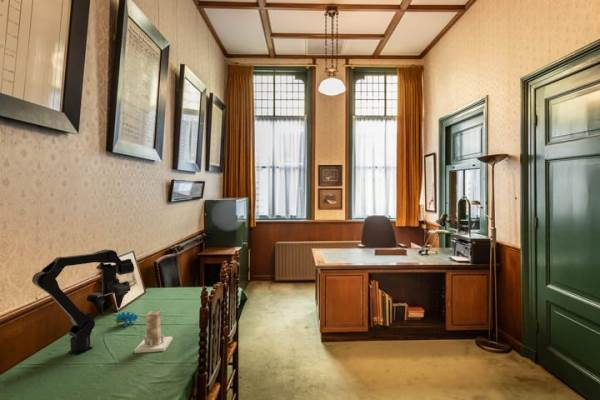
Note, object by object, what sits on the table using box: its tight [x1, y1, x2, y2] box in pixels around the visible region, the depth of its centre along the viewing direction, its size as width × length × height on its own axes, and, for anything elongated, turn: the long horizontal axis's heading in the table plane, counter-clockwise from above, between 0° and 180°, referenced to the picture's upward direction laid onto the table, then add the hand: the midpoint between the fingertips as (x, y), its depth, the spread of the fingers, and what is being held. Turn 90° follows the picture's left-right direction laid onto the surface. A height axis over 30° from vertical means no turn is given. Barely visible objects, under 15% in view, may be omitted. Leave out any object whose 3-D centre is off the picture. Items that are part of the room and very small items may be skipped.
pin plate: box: [134, 334, 174, 354], centre depth 147 cm, size 12×12×4 cm
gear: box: [113, 311, 139, 328], centre depth 172 cm, size 11×6×10 cm
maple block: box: [145, 310, 162, 345], centre depth 147 cm, size 4×4×13 cm
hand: (110, 311), depth 155 cm, fingers open, 9 cm apart
